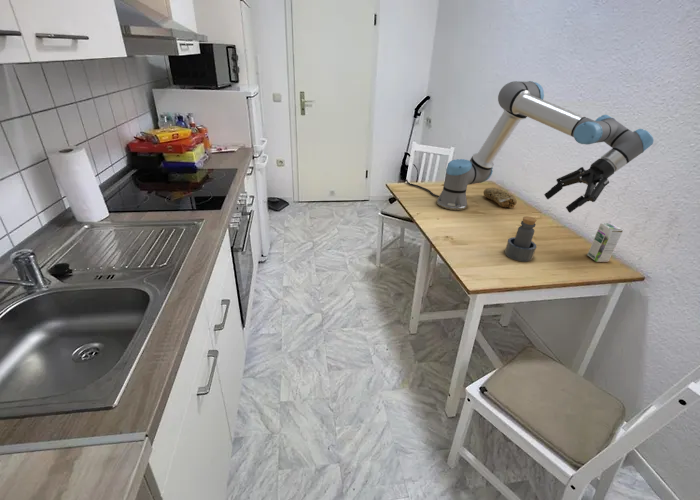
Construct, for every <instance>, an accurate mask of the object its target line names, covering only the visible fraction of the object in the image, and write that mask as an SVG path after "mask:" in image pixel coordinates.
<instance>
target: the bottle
mask: <svg viewBox="0 0 700 500" xmlns="http://www.w3.org/2000/svg"><path fill="white" fill-rule="evenodd" d="M536 222H537V218H535V217H533V216H527V215H526V216H523V217H522V220H521V222H520V225H519V226H518V227H517V231H516V235H515V236H514V237H515V241H514V245H516V246H518V247H522V248H529V247H530V244H531V241H532V242H533V237H534V235H535V229H534V228H535V227H536Z"/></svg>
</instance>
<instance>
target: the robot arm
mask: <svg viewBox="0 0 700 500" xmlns="http://www.w3.org/2000/svg"><path fill="white" fill-rule="evenodd" d="M544 98H545V93H544V88H543V86H542V85H541V84H540V83H539V82H537V81H531V80H527V81H519V80H518V81H517V80H513V81H510V82H507V83H506V84H504V85H503V86H502V87H501V89H500V90H499V92H498V95H497V102H498V105H499V106H500V108H501V109H502V110H503V111H502V114H500V117H499V118H498V120H497V122H496V123H495V125H494V127H493V128H492V130H491V131H490V133H489V134H488V136H487V137H486V139H485V141H484V142H483V144H482V146H481V147H480V149H479V150H478V152H476V153H473V154H472V156H471V157H470V159H469V160H468V159H465V158H456V159H452V160H450V161H449V162H448V163H447V166H446V169H445V176H444V182H443V187H442V190H441V193H440V195H438V194H435V193H433V192H432V191H431V190H430V189H428V188H426V187H423V186H421V185H418V184H414V183H411V182H409V181H408V179H407V178H406V179H404V181H403V182H406V183H407V184H408V185H409V186H412V187H416V188H419V189H422V190H424V191H426V192H428V193H429V194H430V195H431V196H433V197H437V201H436V205H437V206H438V207H440V208H443V209H444V210H449V211H463V210H466V209H467V208H468V207H467V206H468V199H467V190H468V186H470V185H474V184H481V183H484V182H486V181H488V180H489V179H490V178H491V177H492V175H493V172H494V171H493V169H494V165H495V164H494V160H495V159H496V158H497V156H498V155H499V153H500V152H501V150H502V148H503V147H504V146H505V145H506V143H507V141H508V140H509V138H510V137H511V135H512V134H513V133H514V130H515V129H516V128H517V126H518V125H519V124H520V122H521V121H522V120H525V119H527V118H529V119H531V120H533V121H535V122H538V123H541V124H542V125H545V126H547V127H548V128H549V127H550V128H552V129H554V130H556V131H559V132H561V133H563V134H565V135H567V136H570V137H572V138H574V141H575V142H576V143H577V144H580V145H593V144H597V143H598V144H599V143H605V144H606V145H607V146H609V147H610V148H611V149H609V150H608V151H607V152H605V153H604V154H602V155H601V156H600V158H597V159H596V160H595V161H594V162H592V163H591V164H590V167H589V168H588V169H585V168H584V166H580V167H579V168H577V169H576V170H574V171H572V172H569V173H567V174H565V175H562V176H560V177H558V178H556V180H555V181H556V184H555V185H553V186H552V187H550V189H549V190H548V191H546V192H545V193H543V195H544V197H545V198H546V200H549V199H551V198H552V197H553V196H555V195H556V194H557V193H559V192H560V191H562V190H563V188H564V187H568V186H571V185H575V184H579V183H580V184H582V183H583V184H585V185H586V186H587V187H586V189H585V193H584V194H583V195H580V196H579V197H577V198H576V199H575V200H573V201H572V202H571V203H569V204H568V205H567V206H565V209H566V211H567V212H568V213H572V212H574V211H575V210H576V209H577V208H580V207H582V206H583V205H585V204H586V203H588V202H592V203H595V202H596V201H597V200H598V198H599V196H600V195H601V194H602V192H603V191H604V189H605V188H606V187H607V185H609V184H610V180H609V178H610V177H611V176H612V175H614V174H615V173H616V172H618V171H619V170H620V169H622V168H624V166H626V165H627V164H628V163H630V162H631V161H633V160H634V159H636V158H637V157H638V156H640V155H641V154H643V153H644V152H645V151H646V150H648V149H649V148H650V147H651V146H652V145H654V142H655V141H654V140H655V139H654V137H653V135H652V134H651V133H650V132H649V131H648V130H647V129H644V128H637V129H636V130H634V131H632V130H631V129H630V128H627V127H626V126H625V125H623V124H622V123H620V122H619V121H618V120H616V119H615V117H612V116H610V115H608V114H603V115H601V116H599V117H597V118H596V119H595V120H594V119H591V118H589V117H586V116H584V115H582V114H579V113H577V112H574V111H572V110H569V109H566V108H564V107H561V106H560V105H557V104H555V103H552V102H549V101H547V100H545V99H544ZM410 183H411V184H410Z"/></svg>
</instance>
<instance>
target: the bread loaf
mask: <svg viewBox="0 0 700 500" xmlns="http://www.w3.org/2000/svg"><path fill="white" fill-rule="evenodd" d="M483 196H484V197H485V198H487V199H488V200H491V201H493V202H495V203H497V204H498V206H500V207H502V208H508V209H513V208H515V206H516V205H517V199H516V197H515V196H514V195H513V194H511V193H509V192H507V191H505V190H503V189H501V188H497V187H487V188H485V189H484V190H483Z"/></svg>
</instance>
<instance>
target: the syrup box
mask: <svg viewBox="0 0 700 500" xmlns="http://www.w3.org/2000/svg"><path fill="white" fill-rule="evenodd" d="M623 232H624V229H623V228H621V227H620V226H618V225H615V224H614V223H611V222H601V223H600V224H599V226H598V229H597V231H596V233H595V236H594V238H593V241H592V243H591V245H590V247H589V250H588V251H587V254H586V256H587V257H589V258H590V259H592V260H593V261H594V262H595V263H608V262H610V260H611V257H612V255H613V253H614V252H615V249H616V247H617V245H618V243H619V240H620V239H621V236H622V234H623Z"/></svg>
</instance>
